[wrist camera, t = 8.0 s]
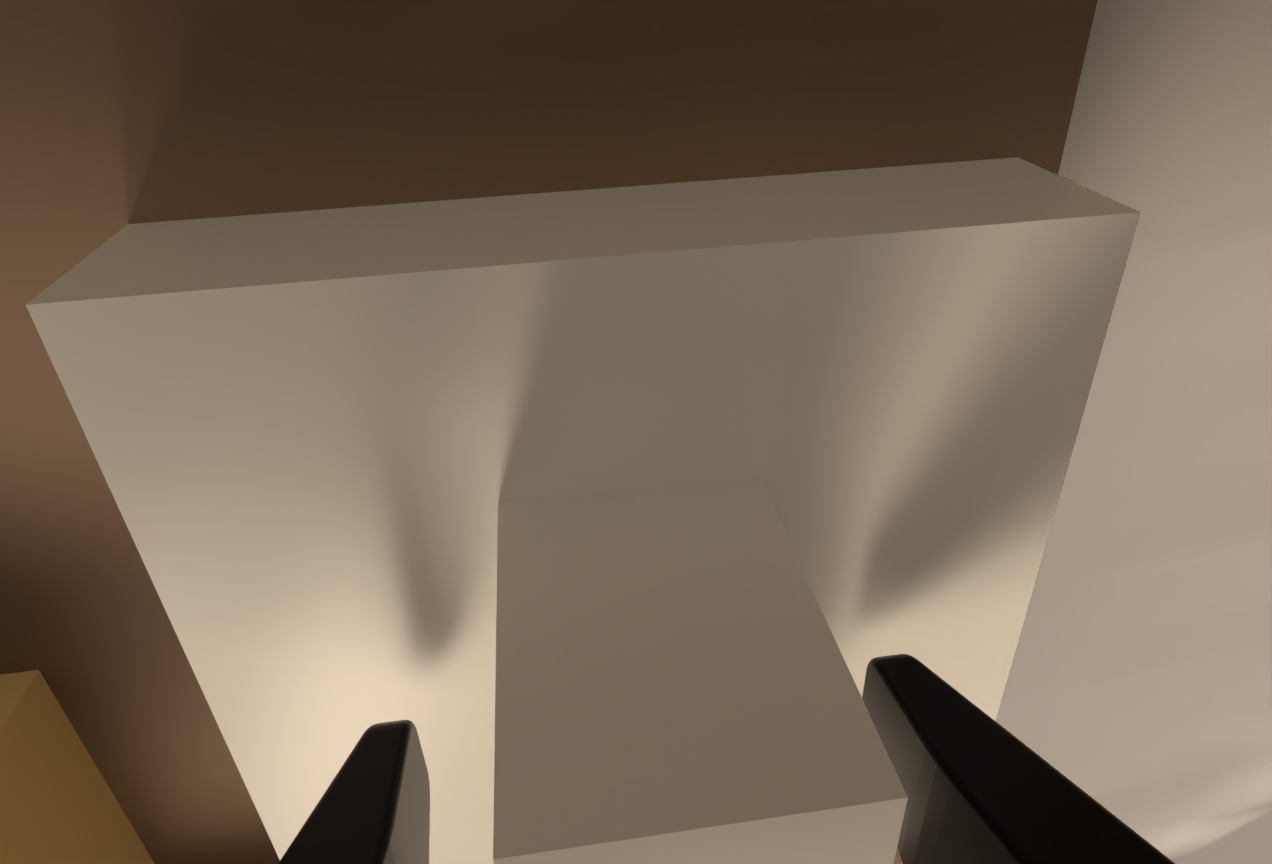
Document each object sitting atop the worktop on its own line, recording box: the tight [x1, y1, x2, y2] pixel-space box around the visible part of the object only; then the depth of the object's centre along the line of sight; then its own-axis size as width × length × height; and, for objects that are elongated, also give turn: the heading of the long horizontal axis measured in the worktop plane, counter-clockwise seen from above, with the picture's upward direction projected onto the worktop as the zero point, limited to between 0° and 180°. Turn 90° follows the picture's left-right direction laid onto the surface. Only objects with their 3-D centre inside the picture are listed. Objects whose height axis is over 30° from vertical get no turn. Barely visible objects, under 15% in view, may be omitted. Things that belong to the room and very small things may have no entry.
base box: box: [0, 0, 1097, 864], centre depth 12 cm, size 17×17×3 cm
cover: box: [26, 157, 1140, 864], centre depth 8 cm, size 9×9×6 cm
